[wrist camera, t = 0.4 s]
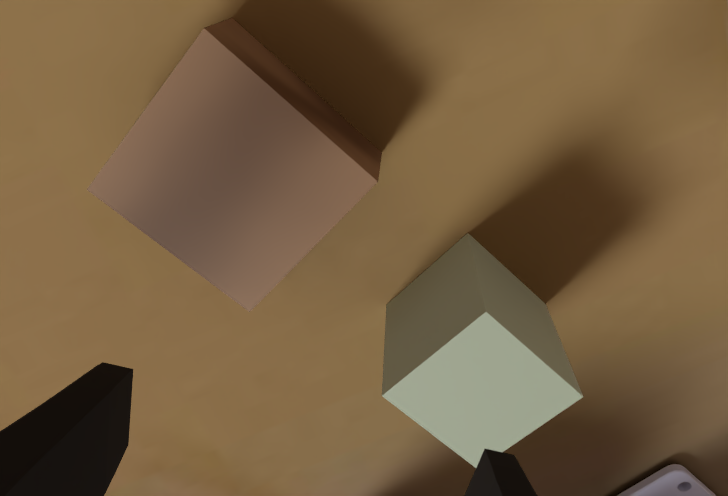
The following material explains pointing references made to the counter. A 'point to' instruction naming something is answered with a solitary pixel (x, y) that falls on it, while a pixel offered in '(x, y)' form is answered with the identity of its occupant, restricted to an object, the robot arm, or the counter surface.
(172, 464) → the counter surface
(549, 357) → the green block
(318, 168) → the walnut slab
